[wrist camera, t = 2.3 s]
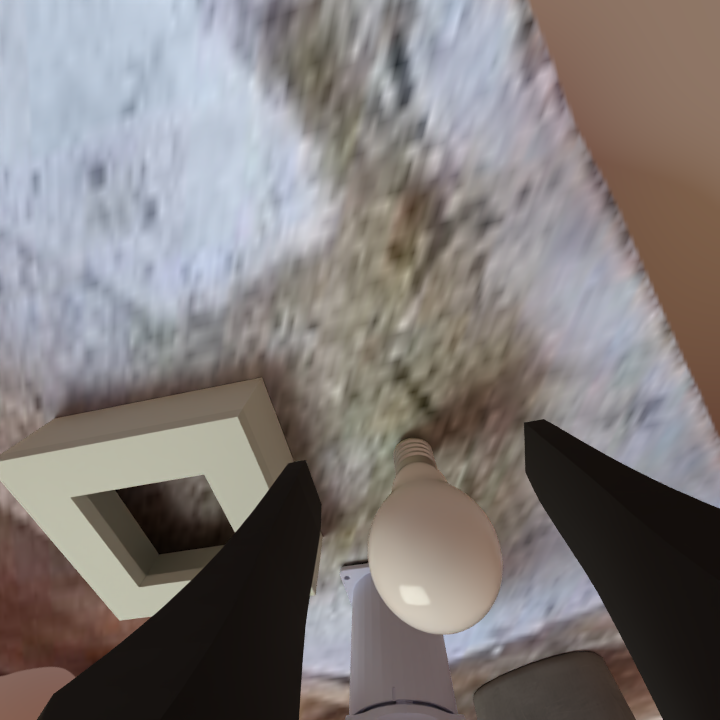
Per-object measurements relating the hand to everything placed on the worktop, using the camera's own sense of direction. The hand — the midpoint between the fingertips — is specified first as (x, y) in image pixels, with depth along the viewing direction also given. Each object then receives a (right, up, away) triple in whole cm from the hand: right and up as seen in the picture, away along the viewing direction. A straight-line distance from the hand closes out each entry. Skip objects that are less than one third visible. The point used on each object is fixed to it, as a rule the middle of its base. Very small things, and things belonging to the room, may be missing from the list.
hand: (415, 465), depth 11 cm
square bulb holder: (-14, -6, +14) cm, 21 cm away
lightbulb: (+2, -3, +13) cm, 13 cm away
